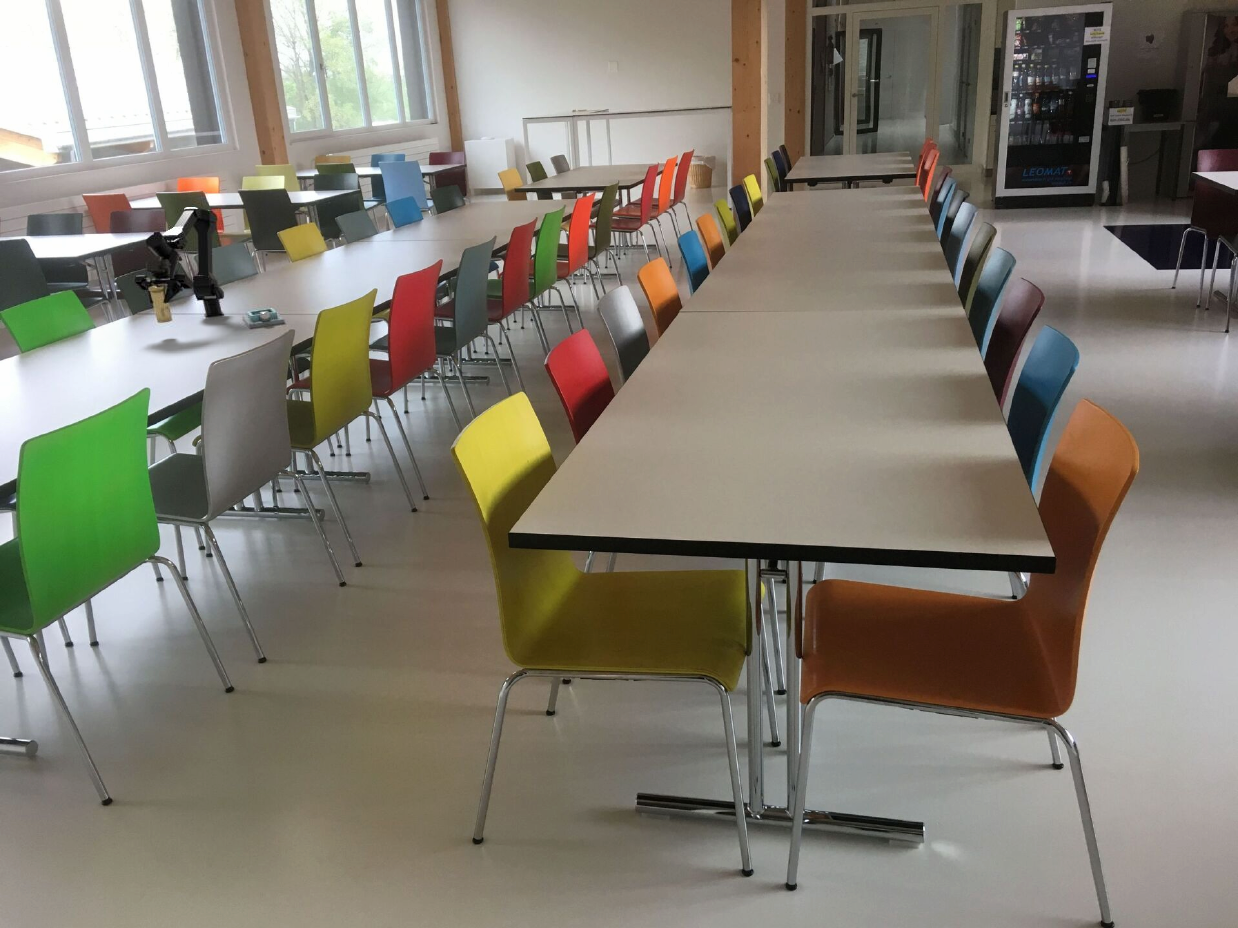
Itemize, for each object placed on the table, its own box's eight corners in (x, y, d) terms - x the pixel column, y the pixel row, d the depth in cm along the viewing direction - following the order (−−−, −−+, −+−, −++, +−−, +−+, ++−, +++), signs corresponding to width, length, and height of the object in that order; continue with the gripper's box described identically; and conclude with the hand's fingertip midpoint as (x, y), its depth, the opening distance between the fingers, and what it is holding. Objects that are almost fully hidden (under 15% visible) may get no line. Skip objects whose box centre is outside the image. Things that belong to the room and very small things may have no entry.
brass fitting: (156, 321, 333) (147, 286, 329) (172, 318, 336) (164, 284, 331) (157, 323, 329) (148, 288, 324) (174, 321, 331) (165, 286, 327)
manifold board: (242, 319, 353) (240, 307, 352) (276, 314, 358) (274, 302, 357) (249, 328, 338) (247, 316, 337) (284, 323, 343) (282, 310, 342)
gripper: (129, 252, 328) (119, 291, 322) (181, 250, 326) (171, 288, 320) (147, 271, 338) (137, 309, 332) (197, 268, 336) (188, 307, 330)
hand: (158, 303), depth 328 cm, fingers closed on brass fitting, 5 cm apart
